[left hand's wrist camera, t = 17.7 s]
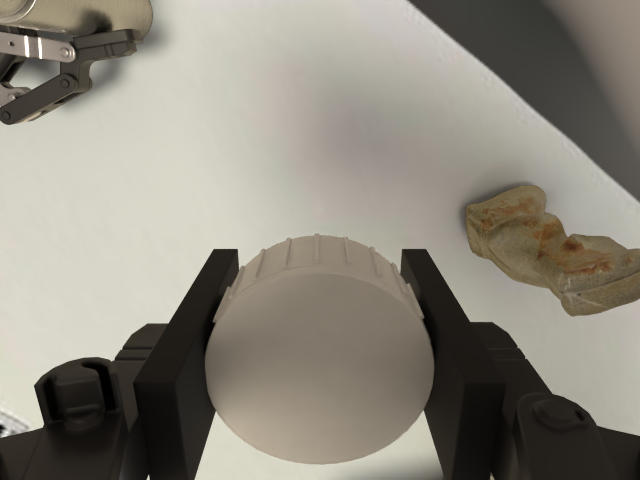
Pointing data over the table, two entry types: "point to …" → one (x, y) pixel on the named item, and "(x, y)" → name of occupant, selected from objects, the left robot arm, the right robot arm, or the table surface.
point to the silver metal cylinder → (77, 15)
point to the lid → (319, 352)
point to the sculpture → (552, 253)
